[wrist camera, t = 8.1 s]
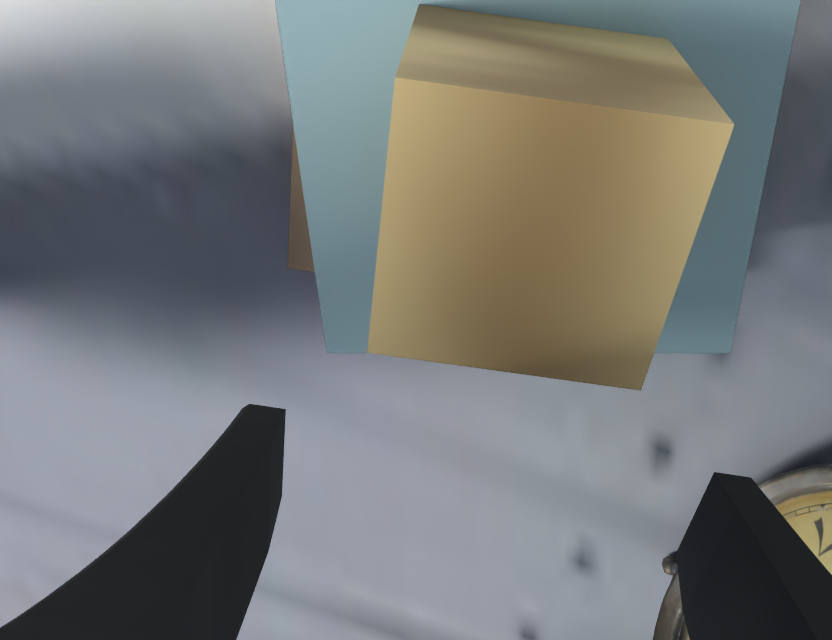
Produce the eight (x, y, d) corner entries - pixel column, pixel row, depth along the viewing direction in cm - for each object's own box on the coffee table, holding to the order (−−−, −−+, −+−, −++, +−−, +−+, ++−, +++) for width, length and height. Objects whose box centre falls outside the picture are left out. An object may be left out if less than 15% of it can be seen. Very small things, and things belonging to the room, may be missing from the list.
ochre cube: (393, 227, 16) (366, 352, 13) (418, 3, 14) (394, 77, 10) (605, 257, 16) (640, 390, 13) (668, 38, 14) (733, 124, 10)
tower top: (346, 286, 21) (326, 352, 18) (299, -101, 16) (262, -82, 13) (699, 282, 20) (730, 352, 17) (767, -128, 15) (822, -112, 12)
